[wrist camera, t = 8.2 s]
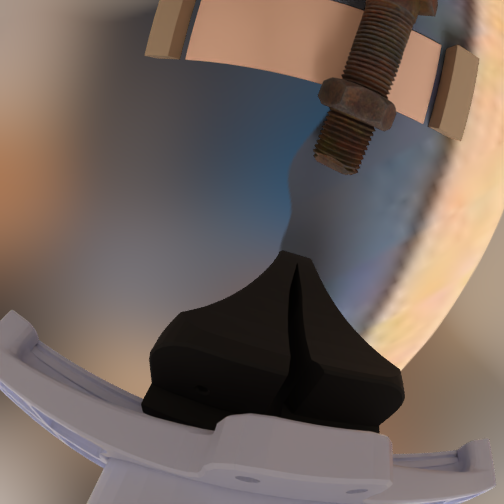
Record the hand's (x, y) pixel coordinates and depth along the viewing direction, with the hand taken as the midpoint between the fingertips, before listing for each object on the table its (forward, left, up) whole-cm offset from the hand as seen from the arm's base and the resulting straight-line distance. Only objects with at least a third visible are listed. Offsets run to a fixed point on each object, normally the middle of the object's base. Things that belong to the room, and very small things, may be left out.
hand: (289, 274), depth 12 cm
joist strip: (+12, +2, -10) cm, 16 cm away
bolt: (+11, -2, -11) cm, 15 cm away
